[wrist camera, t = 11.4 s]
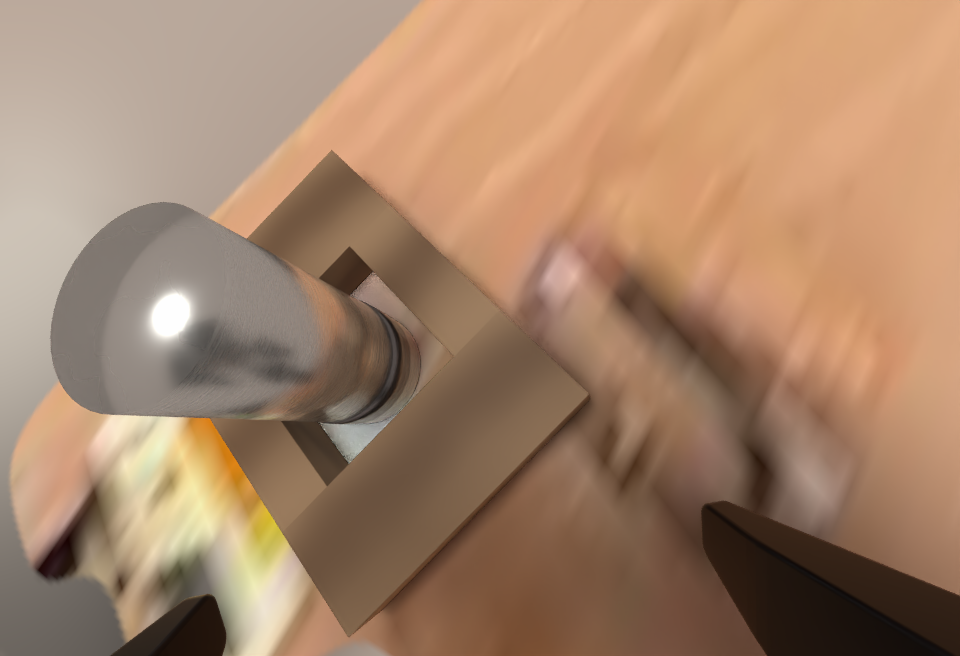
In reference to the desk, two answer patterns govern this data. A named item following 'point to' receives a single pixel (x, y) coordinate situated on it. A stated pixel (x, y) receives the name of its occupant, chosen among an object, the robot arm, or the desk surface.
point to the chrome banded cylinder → (219, 330)
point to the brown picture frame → (417, 427)
